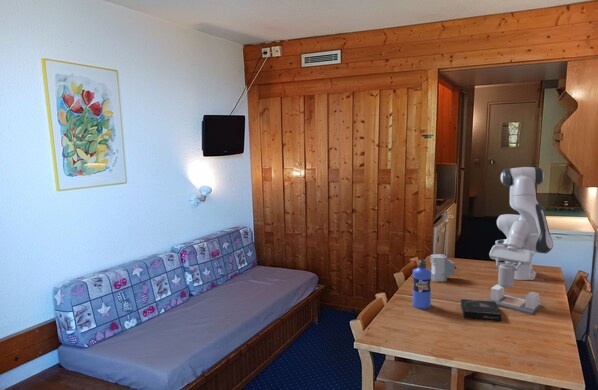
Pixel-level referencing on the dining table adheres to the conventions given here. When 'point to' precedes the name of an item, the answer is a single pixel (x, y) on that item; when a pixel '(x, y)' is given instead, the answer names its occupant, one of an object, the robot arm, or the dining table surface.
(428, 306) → the water bottle
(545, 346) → the dining table surface
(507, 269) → the can
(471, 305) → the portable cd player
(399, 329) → the dining table surface
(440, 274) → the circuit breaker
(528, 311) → the board
